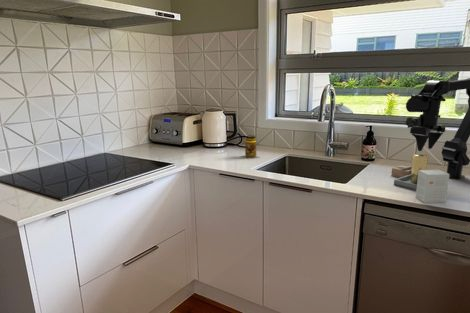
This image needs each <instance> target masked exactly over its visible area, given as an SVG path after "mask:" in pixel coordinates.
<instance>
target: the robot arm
mask: <svg viewBox="0 0 470 313" xmlns="http://www.w3.org/2000/svg"><path fill="white" fill-rule="evenodd" d="M461 90H465V93H466V96H468V99H467V104H468V109H467V111H466V112H465V115H464V117H463V119H462V121H461V122H460V125H459V126H458V128H457V130H456V133H455V134H454V136H453V138H452V139H451V140H449V139H447V140H446V141H445V142H444V145H443V146H442V148H441V155H442V161H443V162H446V163H447V166H446V171H445V172H446V173H448V174H450V175H449V179H450V178H451V179H455V180H461V179H462V178H465V177H466V176H465V175H464V174H463V170H464V169H463V168H464V166H465V167H466V166H469V164H470V158H469V156H468V155H467V151H468V146H467V142H468V140H469V138H470V77H468V78H464V79H457V80H449V81H448V80H447V81H446V80H427V81H425V84H424V85H423V87H422V88H421V89H420V91H419V92H418V93H417V94H411V96H410V98H409V99H407V101H406V103H405V109H406V111H407V112H409V113H420V114H419V117H417V118H414V117H412V116H411V117H407V118H406V120H405V123H404V124H405V125H406V127H407V129H409V128H410V129H409V134H411V135H412V136H413V137H414V138H415V140H416V145H417V146H416V147H417V150H418V152H421V151H422V150H423V149H424V147H425V145H426V143H427V142H428V143H427V145H428V149H429V150H431V149H433V147H434V146H435V145H436V143H437V142H438V140H439V139H440V138H441V136H443V134H444V133H445V132H446V127H445V125H444V124H438V121H439V119H440V118H441V114H440V109H441V102H446V99H445V97H444V95H446V94H449V93H450V92H454V91H461Z"/></svg>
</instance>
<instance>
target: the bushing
mask: <svg viewBox="0 0 470 313" xmlns="http://www.w3.org/2000/svg"><path fill="white" fill-rule="evenodd" d="M428 159H429V155H428V154H423V153H413V154H412V162H411V164H412V170H411V179H410V183H412V184H416V185H417V181H418V173H419V170H428Z"/></svg>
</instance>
